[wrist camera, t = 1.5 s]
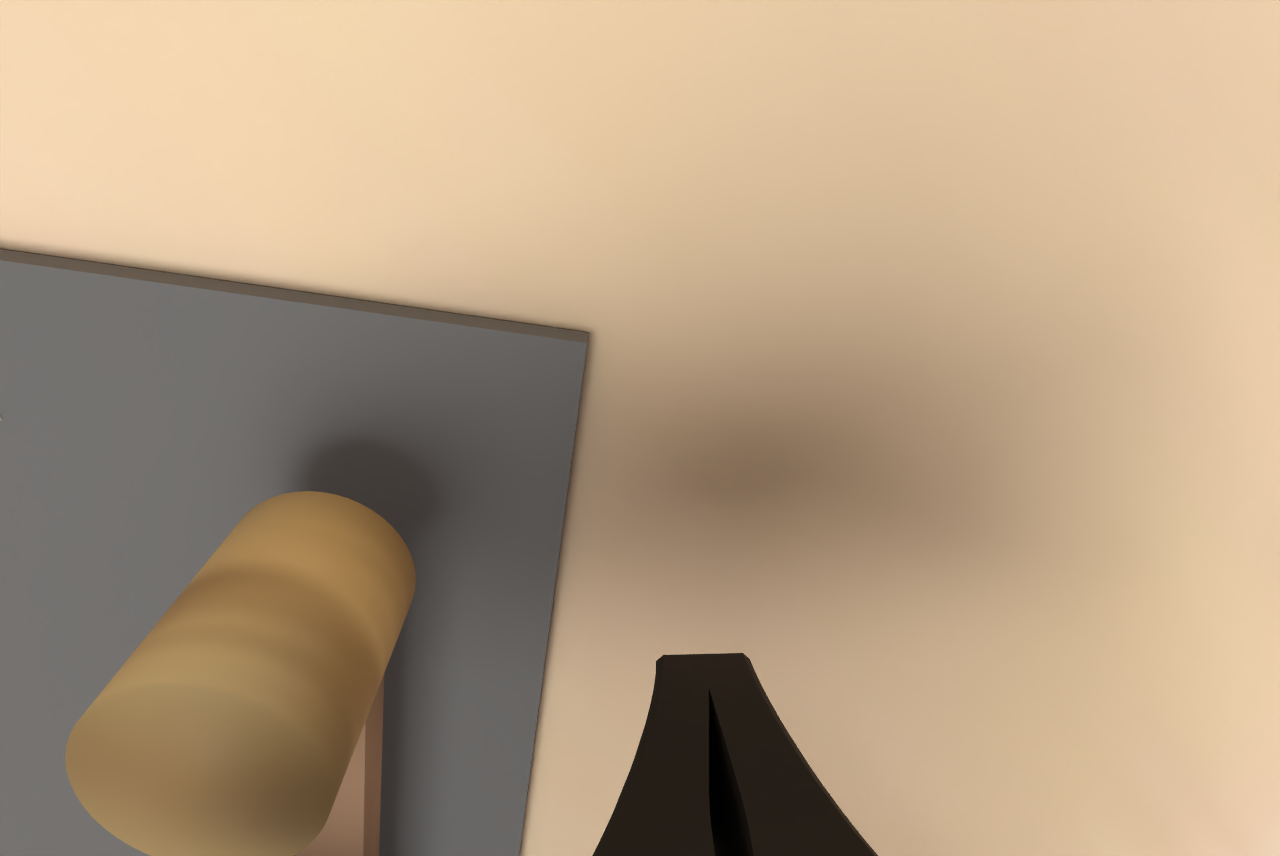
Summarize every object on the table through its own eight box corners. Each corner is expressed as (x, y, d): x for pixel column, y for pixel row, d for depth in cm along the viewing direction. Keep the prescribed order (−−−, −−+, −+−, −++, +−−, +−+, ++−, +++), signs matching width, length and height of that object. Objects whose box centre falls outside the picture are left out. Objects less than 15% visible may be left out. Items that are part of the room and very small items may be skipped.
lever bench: (499, 1005, 24) (485, 1109, 22) (-188, 950, 23) (-280, 1054, 21) (588, 332, 16) (581, 384, 13) (-514, 176, 14) (-743, 202, 12)
